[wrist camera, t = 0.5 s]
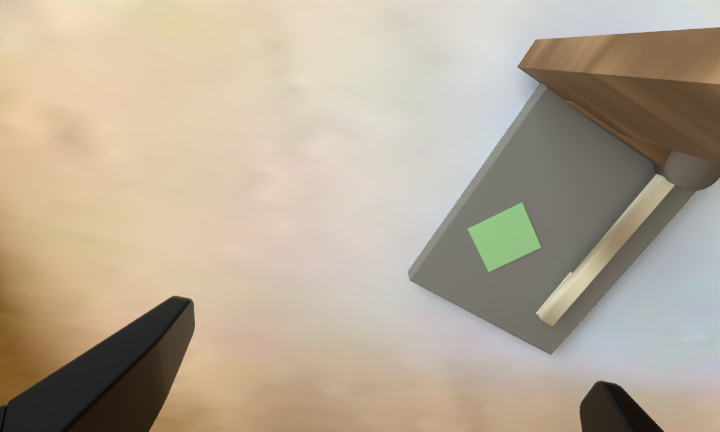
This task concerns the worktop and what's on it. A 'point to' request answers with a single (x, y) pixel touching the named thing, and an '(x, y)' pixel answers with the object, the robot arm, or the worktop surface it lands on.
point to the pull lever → (638, 117)
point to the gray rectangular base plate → (541, 221)
